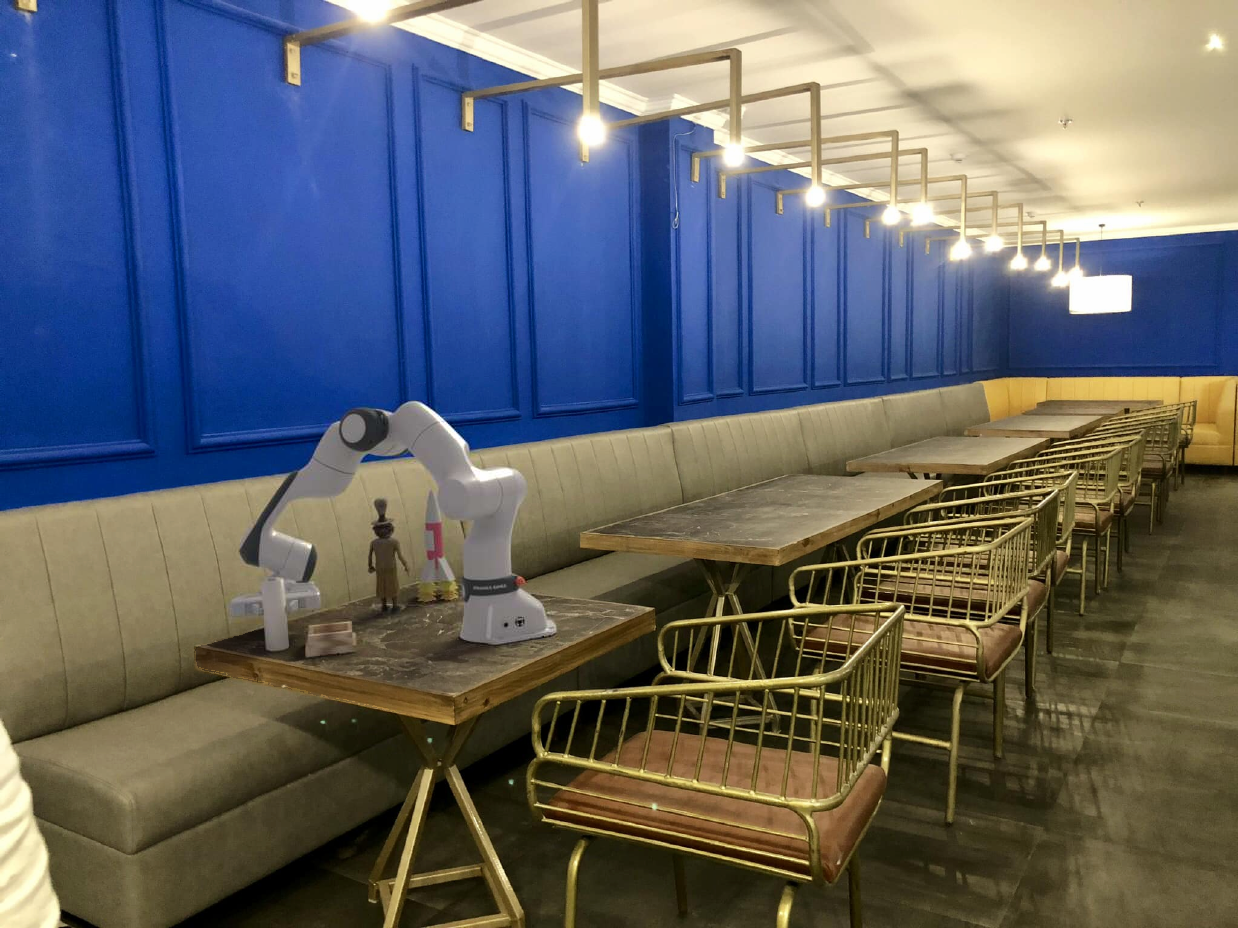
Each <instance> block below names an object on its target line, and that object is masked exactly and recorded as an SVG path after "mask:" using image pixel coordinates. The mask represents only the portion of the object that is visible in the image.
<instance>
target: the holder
mask: <svg viewBox="0 0 1238 928" xmlns="http://www.w3.org/2000/svg"><path fill="white" fill-rule="evenodd" d="M307 632H308V633H307V637H306V639H305V640H306V642H305V650H304V651H305V658H312V657H320V655H321V656H330V655H338V654H337V653H339V654H347V652H348V653H356V652H358V649H357V647H358V645H357V633H356V632H353V623H352V621H351V620H350V621H342V622H331V623H322V624H313V625H308V631H307ZM329 654H330V655H329Z"/></svg>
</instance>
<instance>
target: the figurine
mask: <svg viewBox="0 0 1238 928" xmlns="http://www.w3.org/2000/svg"><path fill="white" fill-rule="evenodd" d="M373 505H374V508H375V510H376V512H377V515H378V519H376V520H372V521H371V522H370V525H371V526H372V531H373V532H374V534H375V536H376V537H378V538H375V539H374V540H372V541H370V545H369V551H368V556H367V562H368V563H367V567H368V569H367V572H368V573H369V574H373V573H374V572H375V574H376V575H375V577H376V582H375V583H376V585H375V586H376V587H375V597H376V599H380V601H381V609H380V614H387V613H389V612H390V611H391V612H390V613H391V614H399V613H400V612H402V611H403V610H405V609H407V608H406V607H407V605H406V604H398V597H399V596H400V595H401V588H400V583H399V577H398V567H397V565H398V564H397V559H396V555H397V558H398V560H399V561H400V563H401V565H402V567H404V572H406V574H407V577H408V578H410V575H409V574H410V571H411V567H410V566H409V565H408V562H407V561H406V559H405V558H404V556H403V553H402V551H401V545H400V542H399V540H398V539H397V538H395V537H392V535H393V534H394V533H395V526H394V525H393V522H394V518H391V517H386V513H387V512H386V511H387V509H388V500H387V499H386V498H382V497H379V498H378V497H377V498H375V499H374V501H373ZM373 553H374V556H375V564H373ZM373 565H374V566H373ZM387 599H391V601H392V604H389V605H387ZM401 610H402V611H401Z"/></svg>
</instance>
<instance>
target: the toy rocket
mask: <svg viewBox="0 0 1238 928" xmlns="http://www.w3.org/2000/svg"><path fill="white" fill-rule="evenodd" d="M434 491H435V490H434V489H433V488H431V489H430V490H429V492H428V496H427V500H426V501H427V502H426V509H425V510H426V511H425V520H424V523H425V524H424V525H425V528H424V530H423V536H424V538H423V539H424V540H423V541H424V550H425V551H426V560H425V562H424V565H423V567H422V570H421V572H420V573H419V576H418V579H419V583H418V585H417V586H416V588H418V591H417V592H419V593H418V594H417V596H416V598H418V600H417V601H425V602H428V601H432V600H435V601H437V600H436V599H437V598H436V597H435V596H436V595H437V594H436V593H434V592H436V591H438V589H437V587H439V586H440V588H439V591H441V592H439V594H443V595H441V597H440V598H439V600H440V599H445V600H444V601H448V600H451V601H453V600H452V599H454V598H457V599H459V598H458V597H459V595H458V591H456V590H457V589H459V587H458V585H457V582H456V581H455V580H456V578H455V575H454V572H453V570H452V568H451V567H450V565H449V563H448V561H447V559H446V557H445V555H444V541H443V538H444V537H443V522H442V517H441V510H440V508H439V506H438V502H437V495H436V494H435V492H434ZM436 570H437V573H436ZM436 574H437V575H436ZM436 576H437V577H436ZM437 578H438V581H439V582H438V584H437V587H436V584H435V583H434V582H435V581H437ZM455 593H457V594H455ZM433 595H435V596H433ZM454 600H455V599H454ZM425 602H424V603H425ZM432 602H433V601H432Z"/></svg>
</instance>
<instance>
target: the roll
mask: <svg viewBox="0 0 1238 928" xmlns="http://www.w3.org/2000/svg"><path fill="white" fill-rule="evenodd" d="M260 585H261V586H260V589H262V603H263V615H262V616H263V626H264V627H263V628H264V641H265V650H266V651H267V650H269V651H268V652H278V651H284V650H286V649H288V648H289V646H290V643H289V642H290V641H289V629H288V616H287V615H288V614H286V600H285V586H284V578H281V577H275V578H267V579H266V578H264V579H262V580H261V579H260Z"/></svg>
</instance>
